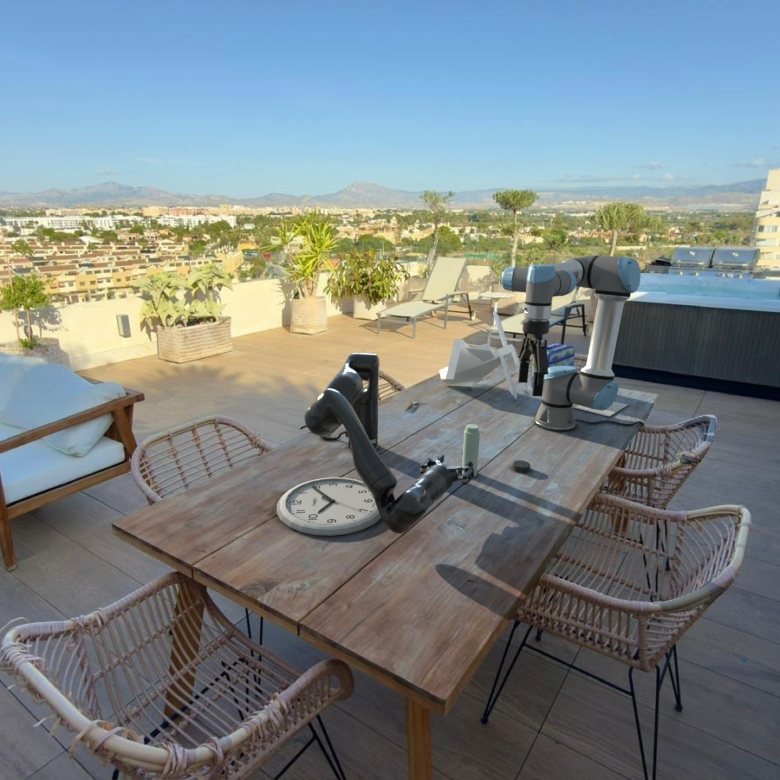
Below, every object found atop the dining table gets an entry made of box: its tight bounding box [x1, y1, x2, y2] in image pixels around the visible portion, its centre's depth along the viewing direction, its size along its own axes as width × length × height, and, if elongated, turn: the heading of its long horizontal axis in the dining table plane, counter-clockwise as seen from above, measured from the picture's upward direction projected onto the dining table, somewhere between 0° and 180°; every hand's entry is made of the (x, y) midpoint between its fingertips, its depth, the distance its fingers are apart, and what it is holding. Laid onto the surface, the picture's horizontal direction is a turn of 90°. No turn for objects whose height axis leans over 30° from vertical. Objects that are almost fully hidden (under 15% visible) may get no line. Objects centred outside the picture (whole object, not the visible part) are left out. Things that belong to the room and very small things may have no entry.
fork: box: [405, 396, 421, 411], centre depth 222 cm, size 3×16×2 cm, turn 160°
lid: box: [512, 459, 531, 474], centre depth 166 cm, size 5×5×2 cm
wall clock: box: [276, 476, 382, 537], centre depth 142 cm, size 30×2×30 cm
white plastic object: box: [438, 310, 531, 400], centre depth 245 cm, size 37×45×31 cm
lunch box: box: [530, 343, 576, 389], centre depth 249 cm, size 26×11×21 cm, turn 134°
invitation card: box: [573, 401, 629, 418], centre depth 226 cm, size 21×1×15 cm
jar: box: [461, 423, 481, 478], centre depth 160 cm, size 5×5×16 cm
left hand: (456, 460), depth 150 cm, fingers open, 8 cm apart
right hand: (529, 388), depth 159 cm, fingers open, 13 cm apart
